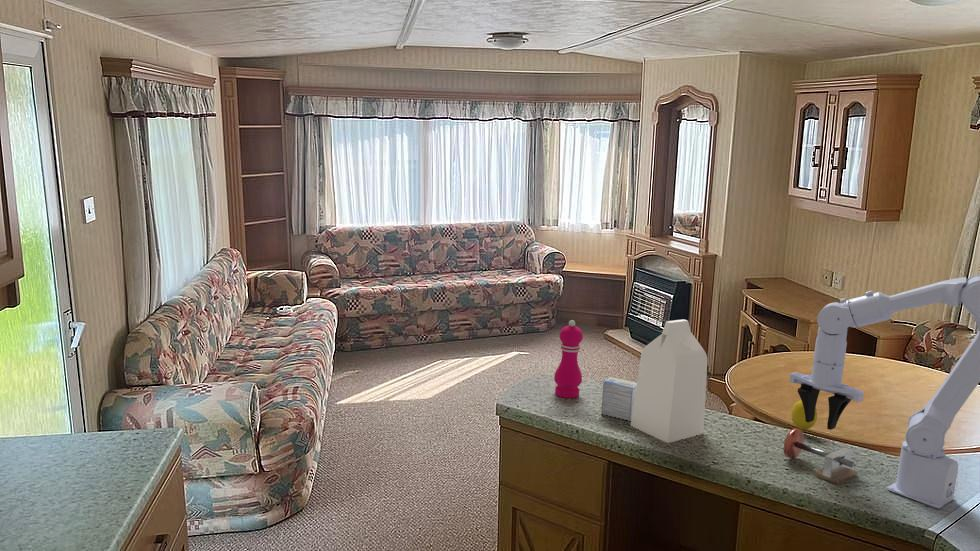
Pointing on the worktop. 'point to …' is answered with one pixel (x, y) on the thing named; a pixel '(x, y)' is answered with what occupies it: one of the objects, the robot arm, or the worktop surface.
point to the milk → (671, 385)
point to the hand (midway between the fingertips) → (820, 424)
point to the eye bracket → (836, 467)
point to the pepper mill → (569, 362)
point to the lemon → (801, 417)
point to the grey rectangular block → (618, 398)
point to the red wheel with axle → (804, 447)
